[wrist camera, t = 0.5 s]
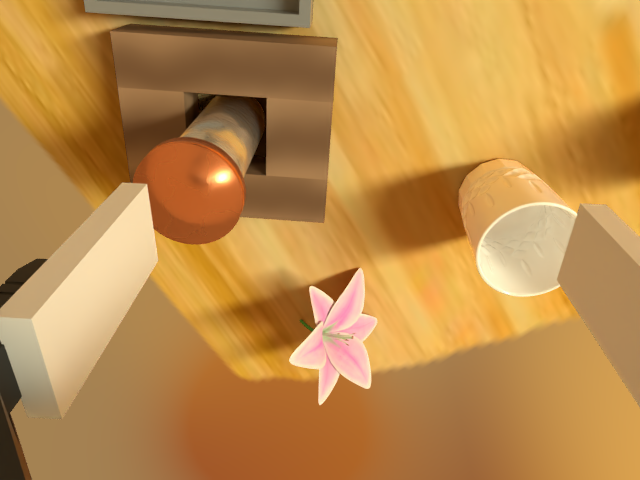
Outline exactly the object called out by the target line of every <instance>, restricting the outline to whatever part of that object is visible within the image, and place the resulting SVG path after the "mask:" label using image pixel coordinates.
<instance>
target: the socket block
mask: <svg viewBox="0 0 640 480" xmlns="http://www.w3.org/2000/svg"><path fill="white" fill-rule="evenodd" d="M110 35H111V43H112V50H113V57H114V65H115V72H116V79H117V86H118V94H119V101H120V108H121V116H122V123H123V130H124V138H125V145H126V152H127V160H128V167H129V174H130V182H131V183H133V178H134V174H135V171H136V169H137V167H138V165H139V164H140V162H141V161H142V160H143V159H144V157H145V156H146V155H147V154H148V153H149V152H150V151H151V150H152V149H153V148H154V147H156V146H157V145H159V144H160V143H162V142H164V141H166V140H169V139H173V138H178V137H180V136H181V135H182V134H183V133H184V131H185V130H186V129H187V128H188V127H189V126H190V125H191V123H192V122H193V121H194V120H195V119H196V118H197V116H198V115H199V106H198V93H205V94H219V95H233V96H247V97H261V98H267V128H266V157H255V156H253V158H252V160H251V162H250V165H249V167H248V169H247V172H246V174H245V176H244V182H245V187H246V199H245V204H244V207H243V210H242V212H241V215H240V217H249V218H263V219H277V220H291V221H305V222H318V223H324V218H325V205H326V191H327V177H328V163H329V149H330V135H331V121H332V107H333V93H334V79H335V65H336V51H337V38H328V37H313V36H299V35H285V34H270V33H256V32H241V31H227V30H213V29H198V28H184V27H170V26H155V25H141V24H129V25H126V26H123V27H120V28H117V29H115V30H112V31H110Z"/></svg>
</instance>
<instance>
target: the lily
mask: <svg viewBox="0 0 640 480" xmlns="http://www.w3.org/2000/svg"><path fill="white" fill-rule="evenodd" d="M309 292H310V298H311V303H312V308H313V313H314V318H315V323H316V328H315V329H313V328H311V327H310V326H308V325H307V324H306V323H305V322H304V321H303V320H300V322H301V323H302V324H303V325H304V326H305V327H306V328H308V329H309V330H310V331H312V333H311V334H310V335H309V336H308V337H307V338H306V339H305V340H304V341H303V342H302V344H301V345H300V346H299V347H298V348H297V349H296V350H295V351H294V352H293V354H292V355H291V356H290V359H289V361H290V363H291V364H293V365H296V366H299V367H304V368H311V369H319V404H320V405H321V404H322V403H323V402H324V401H325V400H326V398H327V397H328V395H329V394H330V392H331V391H332V389H333V387H334V385H335V384H336V382H337V379H338V377H339V374H341V375H343V376H344V377H346V378H347V379H348V380H350V381H352V382H354V383H356V384H357V385H359V386H361V387H363V388H366V389H368V388H370V385H371V370H370V363H369V357H368V354H367V350H366V348H365V346H364V344H363V343H362V342H363V341H364V340H365V339H366V338H367V337H368V336H369V335H370V334H371V332H372V331H373V329H374V328H375V326H376V324H377V319H376V318H375V317H373V316H370V315H366V314H361V313H362V310H363V307H364V298H365V286H364V275H363V271H362V269H361V268H359V269H358V270H357V272H356V273H355V275H354V276H353V278H352V279H351V281H350V283H349V284H348V286H347V287H346V289H345V290H344V292H343V293H342V294H341V296H340V297H339V299H338V300H337V301H336V303H334V301H333V300H332V299H331V298H330V297H329V296H328V295H327V294H325V293H324V292H323V291H321V290H319V289H318V288H316V287H314V286H310V288H309Z"/></svg>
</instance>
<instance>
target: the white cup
mask: <svg viewBox="0 0 640 480" xmlns="http://www.w3.org/2000/svg"><path fill="white" fill-rule="evenodd" d="M459 209H460V212H461V215H462V220H463V225H464V228H465V231H466V235H467V238H468V241H469V244H470V247H471V251H472V254H473V257H474V260H475V263H476V266H477V269H478V272H479V274H480V276H481V277H482V279H483V280H484V281H485V282H486V283H487V284H488V285H489V286H490V287H492V288H493V289H495V290H496V291H498V292H501V293H503V294H507V295H511V296H519V297H527V296H535V295H540V294H544V293H547V292H549V291H552V290H554V289H556V288H558V287H560V284H559V283H558V281H557V277H558V274H559V271H560V268H561V264H562V261H563V258H564V255H565V252H566V248H567V245H568V242H569V239H570V235H571V232H572V229H573V226H574V222H575V219H576V216H577V213H576V212H575V211H574V210H573V209H572V208H571V207H570V206H569V205H568V204H567V203H566V202H565V201H564V200H563V199H562V198H561V197H560V196H559V195H558V194H557V193H556V192H555V191H554V190H553V189H552V188H550V187H549V186H548V185H547V184H546V183H545V182H544V181H543V180H541V179H540V178H539V177H538V176H537V175H535V174H534V173H533V172H532V171H531V170H530V169H528V168H527V167H525V166H524V165H522V164H521V163H519V162H518V161H516V160H507V159H495V160H492V161H489V162H485V163H482V164H480V165H479V166H478V167H476V168H475V169H474V170H473V171H471V172H470V173H469V174H468V175H467V176H466V178H465V179H464V181H463V183H462V185H461V187H460V189H459Z"/></svg>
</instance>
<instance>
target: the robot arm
mask: <svg viewBox="0 0 640 480" xmlns="http://www.w3.org/2000/svg"><path fill="white" fill-rule="evenodd" d="M157 262H158V256H157V249H156V242H155V235H154V228H153V221H152V214H151V207H150V200H149V194H148V187H147V184H141V183H121V184H120V185H119V187H118V188H117V189H116V190H115V191H114V192H113V193H112V194H111V195H110V196H109V197H108V198H107V199H106V200H105V201H104V202H103V203H102V204H101V205H100V206H99V207H98V208H97V209H96V210H95V211H94V212H93V213H92V214H91V215H90V216H89V217H88V219H87V220H86V221H85V222H84V223H83V224H82V225H81V226H80V227H79V228H78V229H77V230H76V231H75V232H74V233H73V234H72V235H71V236H70V237H69V238H68V239H67V240H66V241H65V242H64V243H63V244H62V246H60V247H59V248H58V249H57V251H55V253H54V254H53V255H52V256H51V257H50V258H49V259H36V260H34V261H32V262H30V263H28V264H26V265H25V266H23V267H21V268H19V269H18V270H17V271H16V272H15V273H13V274H12V276H10V277H9V278H8V279H7V280H6V281H5V284H2V285H1V286H0V480H32V478H31V475H30V473H29V469H28V466H27V463H26V460H25V457H24V454H23V450H22V447H21V444H20V441H19V438H18V435H17V432H16V429H15V426H14V423H13V420H12V418H11V415H10V412H11V411H12V409H13V408H14V407H15V405H16V404H17V403H18V401H19V400H20V398H21V400H22V403H23V406H24V409H25V411H26V414H27V417H32V418H49V419H63V417H64V415H65V414H66V412H67V410H68V409H69V407H70V405H71V404H72V402H73V400H74V399H75V397H76V395H77V394H78V392H79V391H80V389H81V387H82V385H83V384H84V382H85V381H86V379H87V377H88V376H89V374H90V372H91V371H92V369H93V367H94V366H95V364H96V362H97V361H98V359H99V357H100V356H101V354H102V352H103V351H104V349H105V347H106V346H107V344H108V343H109V341H110V339H111V338H112V336H113V334H114V333H115V331H116V329H117V328H118V326H119V324H120V323H121V321H122V319H123V318H124V316H125V315H126V313H127V311H128V310H129V308H130V306H131V304H132V303H133V301H134V300H135V298H136V296H137V295H138V293H139V291H140V290H141V288H142V286H143V285H144V283H145V282H146V280H147V278H148V277H149V275H150V273H151V272H152V270H153V268H154V267H155V265H156V263H157ZM557 281H558V283H559V284H560V286H561V287H562V289H563V291H564V292H565V294H566V295H567V297H568V298H569V300H570V301H571V303H572V304H573V306H574V307H575V309H576V310H577V312H578V314H579V315H580V317H581V318H582V320H583V321H584V323H585V324H586V326H587V327H588V329H589V330H590V332H591V333H592V335H593V336H594V338H595V340H596V341H597V342H598V344H599V346H600V347H601V349H602V350H603V352H604V353H605V355H606V356H607V358H608V359H609V361H610V363H611V364H612V366H613V367H614V369H615V370H616V372H617V373H618V375H619V376H620V378H621V379H622V381H623V382H624V384H625V385H626V387H627V388H628V390H629V391H630V393H631V394H632V396H633V398H634V399H635V401H636V402H637V404H638V405H639V407H640V237H639V236H638V235H637V234H636V233H635V232H634V231H633V230H632V229H631V228H630V227H629V226H628V225H627V224H626V223H625V222H624V221H623V220H622V219H620V218H619V217H618V216H617V215H616V214H615V213H614V212H613V211H612V210H611V209H610V208H609V207H608V206H607V205H600V204H580V206H579V210H578V213H577V216H576V219H575V222H574V226H573V229H572V232H571V235H570V239H569V242H568V245H567V248H566V252H565V255H564V258H563V261H562V264H561V268H560V271H559V274H558V277H557Z"/></svg>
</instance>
